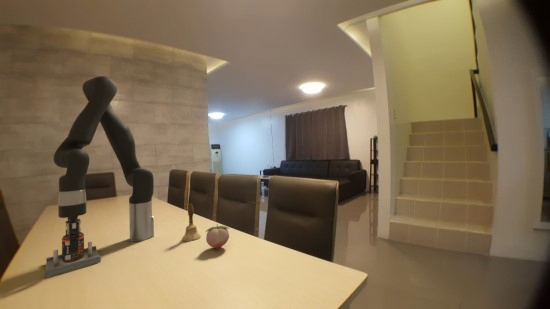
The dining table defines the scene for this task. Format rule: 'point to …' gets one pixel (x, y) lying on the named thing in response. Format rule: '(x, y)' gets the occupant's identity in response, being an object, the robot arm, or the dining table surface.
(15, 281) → the dining table surface
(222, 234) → the decorative fruit
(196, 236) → the hand bell
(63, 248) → the supplement bottle
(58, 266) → the pin tray
